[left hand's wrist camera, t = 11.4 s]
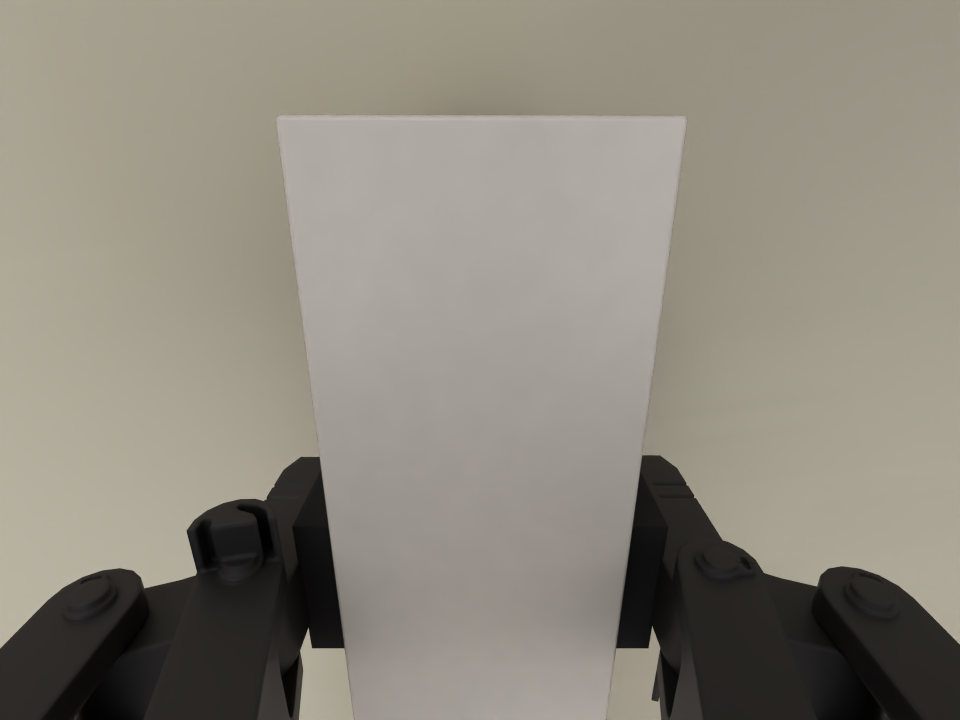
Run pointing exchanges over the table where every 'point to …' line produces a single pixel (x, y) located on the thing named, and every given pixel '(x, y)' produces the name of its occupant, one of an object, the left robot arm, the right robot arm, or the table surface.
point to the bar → (480, 393)
